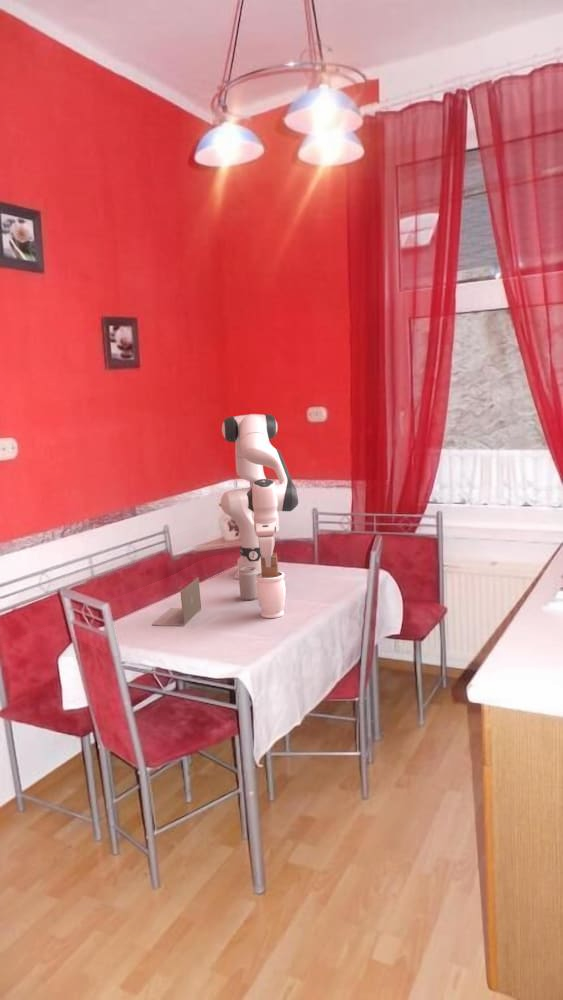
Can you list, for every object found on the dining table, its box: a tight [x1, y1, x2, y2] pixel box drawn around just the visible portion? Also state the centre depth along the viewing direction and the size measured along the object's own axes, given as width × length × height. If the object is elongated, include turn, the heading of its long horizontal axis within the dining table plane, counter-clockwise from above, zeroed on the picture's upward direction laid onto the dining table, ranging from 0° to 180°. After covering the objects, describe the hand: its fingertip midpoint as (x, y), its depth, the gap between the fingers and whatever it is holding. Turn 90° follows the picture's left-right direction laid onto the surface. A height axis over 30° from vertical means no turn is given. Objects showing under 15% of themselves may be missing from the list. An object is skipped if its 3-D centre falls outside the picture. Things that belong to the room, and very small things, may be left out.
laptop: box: [151, 576, 202, 627], centre depth 259 cm, size 18×13×13 cm
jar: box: [256, 570, 287, 619], centre depth 256 cm, size 11×10×15 cm
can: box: [238, 567, 258, 601], centre depth 277 cm, size 8×8×12 cm
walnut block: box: [261, 552, 279, 577], centre depth 254 cm, size 6×6×7 cm
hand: (269, 563), depth 254 cm, fingers open, 6 cm apart
